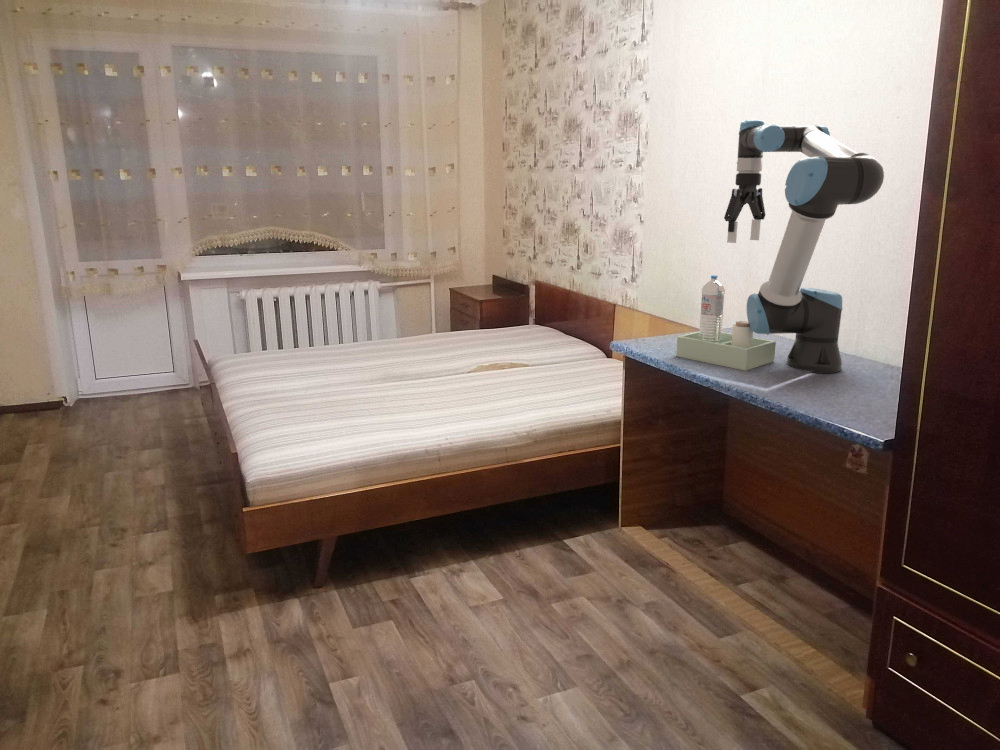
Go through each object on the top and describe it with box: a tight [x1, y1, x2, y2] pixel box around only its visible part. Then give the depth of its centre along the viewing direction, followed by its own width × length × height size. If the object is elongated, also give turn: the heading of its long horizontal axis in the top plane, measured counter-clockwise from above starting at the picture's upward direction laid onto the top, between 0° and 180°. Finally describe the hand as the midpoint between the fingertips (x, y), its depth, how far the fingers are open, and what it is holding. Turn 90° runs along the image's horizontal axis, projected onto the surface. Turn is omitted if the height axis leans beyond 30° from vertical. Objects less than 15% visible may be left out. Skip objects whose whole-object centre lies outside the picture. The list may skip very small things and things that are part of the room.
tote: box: [675, 331, 777, 372], centre depth 230 cm, size 24×16×7 cm, turn 41°
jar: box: [731, 320, 754, 348], centre depth 226 cm, size 6×6×12 cm
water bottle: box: [698, 274, 726, 344], centre depth 232 cm, size 7×7×25 cm
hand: (743, 241), depth 240 cm, fingers open, 13 cm apart
